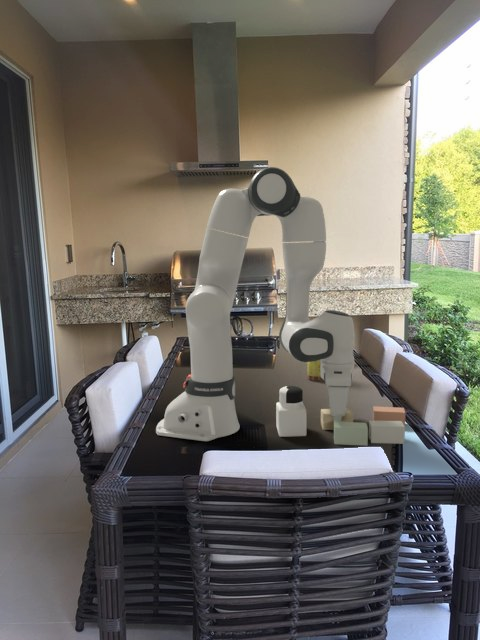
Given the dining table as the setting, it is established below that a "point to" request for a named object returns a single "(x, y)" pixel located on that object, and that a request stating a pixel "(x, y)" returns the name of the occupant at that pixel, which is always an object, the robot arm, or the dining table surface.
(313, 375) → the sauce bottle
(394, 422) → the grey block
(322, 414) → the maple block
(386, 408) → the terracotta block
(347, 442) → the sage block
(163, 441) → the dining table surface
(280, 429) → the medicine bottle
